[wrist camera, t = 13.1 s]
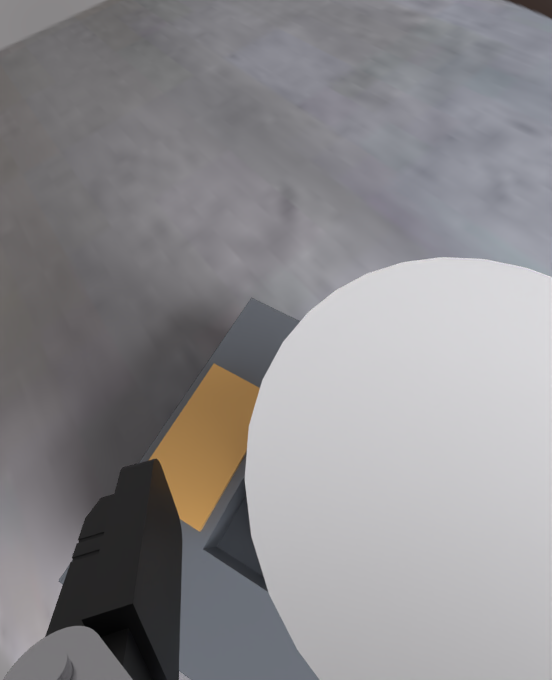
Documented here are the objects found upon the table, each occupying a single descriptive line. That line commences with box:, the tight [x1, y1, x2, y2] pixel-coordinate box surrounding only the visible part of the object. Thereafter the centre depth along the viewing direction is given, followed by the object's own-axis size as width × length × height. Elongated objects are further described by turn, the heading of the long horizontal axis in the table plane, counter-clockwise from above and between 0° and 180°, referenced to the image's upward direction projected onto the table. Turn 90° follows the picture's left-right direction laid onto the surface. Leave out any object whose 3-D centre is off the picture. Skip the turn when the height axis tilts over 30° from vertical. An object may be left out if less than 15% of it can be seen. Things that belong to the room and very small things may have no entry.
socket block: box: [59, 298, 319, 680], centre depth 15 cm, size 24×12×5 cm, turn 61°
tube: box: [245, 257, 552, 680], centre depth 10 cm, size 4×4×15 cm
